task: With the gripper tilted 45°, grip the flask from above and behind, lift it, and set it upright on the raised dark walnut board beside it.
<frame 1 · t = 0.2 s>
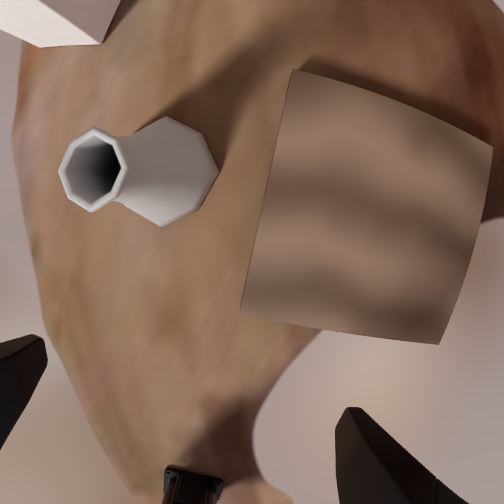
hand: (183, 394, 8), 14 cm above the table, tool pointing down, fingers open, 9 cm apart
flask: (165, 171, 20), on the table
milk carton: (85, 12, 17), on the table
walnut board: (376, 218, 21), on the table
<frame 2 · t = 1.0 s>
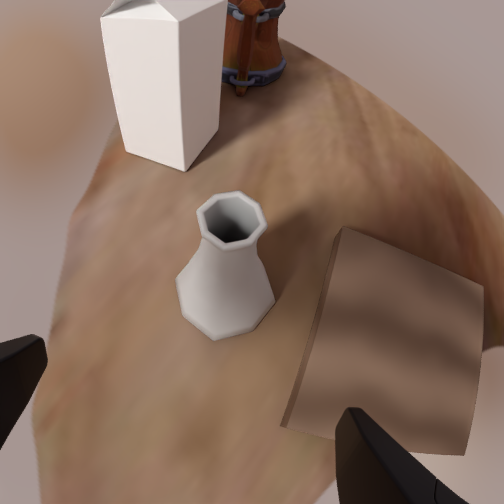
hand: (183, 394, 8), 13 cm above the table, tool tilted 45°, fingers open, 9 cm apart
flask: (224, 293, 23), on the table
milk carton: (173, 141, 30), on the table
walnut board: (401, 352, 22), on the table
mug: (242, 79, 37), on the table
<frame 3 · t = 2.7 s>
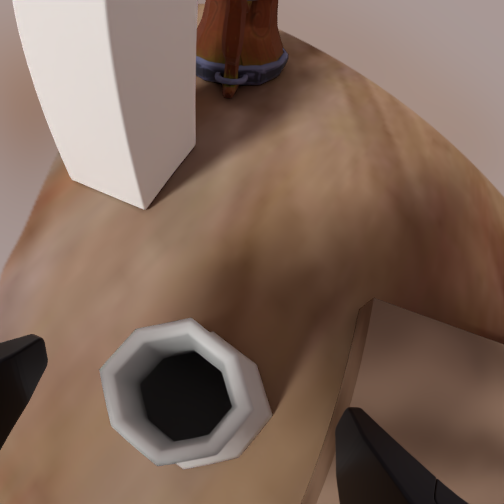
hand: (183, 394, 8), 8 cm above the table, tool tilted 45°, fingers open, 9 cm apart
flask: (198, 401, 15), on the table
milk carton: (133, 163, 22), on the table
walnut board: (435, 456, 13), on the table
mug: (231, 77, 29), on the table
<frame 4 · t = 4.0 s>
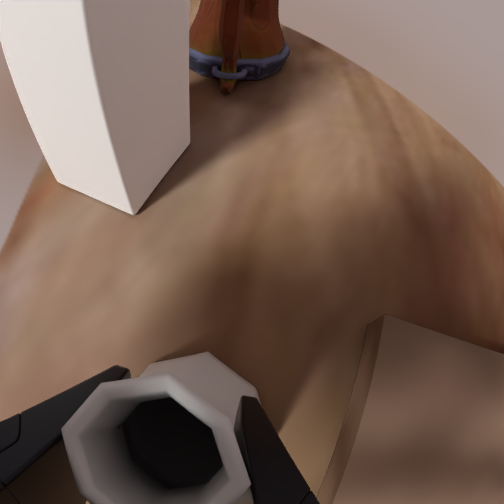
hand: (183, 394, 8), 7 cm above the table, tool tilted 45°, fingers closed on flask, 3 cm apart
flask: (192, 426, 13), on the table, touching gripper
milk carton: (123, 164, 20), on the table
walnut board: (443, 477, 12), on the table
mug: (230, 72, 27), on the table
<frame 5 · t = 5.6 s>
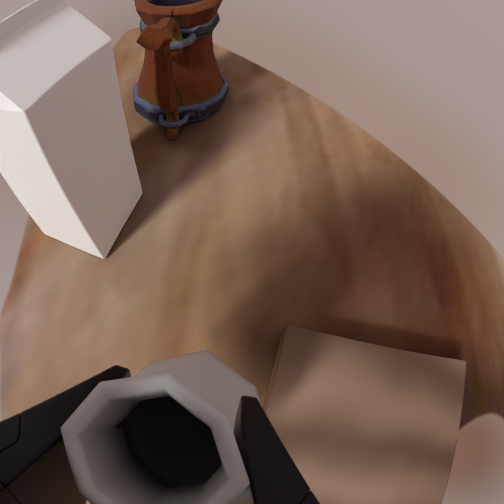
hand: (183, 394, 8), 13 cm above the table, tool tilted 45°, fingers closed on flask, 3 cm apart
flask: (191, 425, 13), point 6 cm above the table, touching gripper
milk carton: (93, 215, 25), on the table
walnut board: (360, 452, 18), on the table
mug: (176, 114, 32), on the table
when the fingers open (10 cm above the table, at t = 7.7 s): flask stays where it is, resting on walnut board.
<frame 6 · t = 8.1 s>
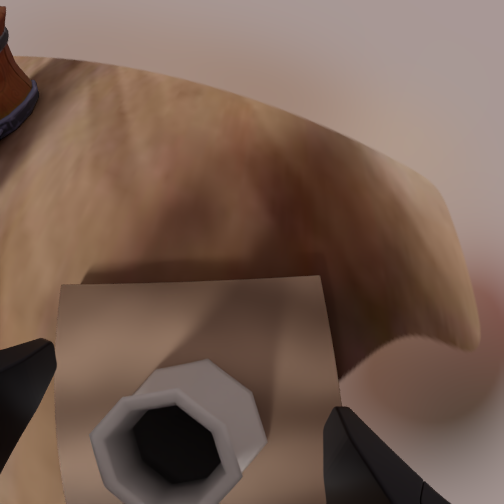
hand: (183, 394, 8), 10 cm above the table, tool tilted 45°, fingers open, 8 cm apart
flask: (193, 427, 14), point 2 cm above the table, touching walnut board
walnut board: (195, 422, 16), on the table
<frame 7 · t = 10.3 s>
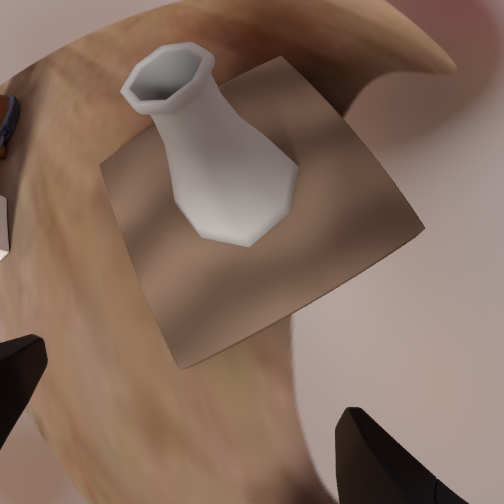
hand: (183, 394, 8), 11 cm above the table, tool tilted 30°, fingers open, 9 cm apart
flask: (237, 188, 18), point 2 cm above the table, touching walnut board
walnut board: (243, 196, 20), on the table
mug: (1, 143, 30), on the table
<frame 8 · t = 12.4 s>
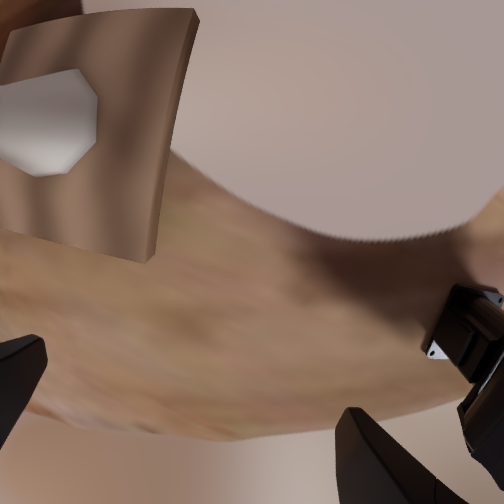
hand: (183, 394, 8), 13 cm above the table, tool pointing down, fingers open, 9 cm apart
flask: (58, 123, 16), point 2 cm above the table, touching walnut board
walnut board: (70, 124, 18), on the table
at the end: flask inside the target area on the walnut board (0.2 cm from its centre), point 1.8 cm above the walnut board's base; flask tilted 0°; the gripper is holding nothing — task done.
